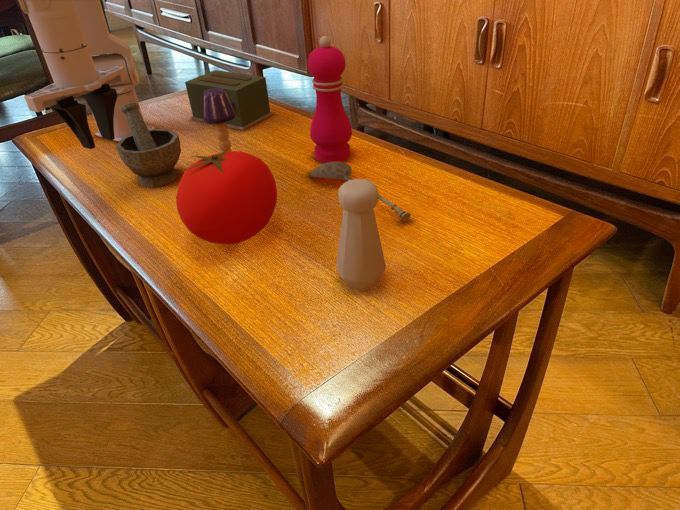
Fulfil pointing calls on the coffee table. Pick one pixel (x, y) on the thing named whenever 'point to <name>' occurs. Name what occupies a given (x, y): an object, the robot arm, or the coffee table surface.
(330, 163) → the soupspoon
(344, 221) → the salt shaker
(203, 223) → the tomato
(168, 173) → the mortar and pestle
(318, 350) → the coffee table surface
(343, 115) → the pepper mill
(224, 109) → the toy lamp
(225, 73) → the toaster
